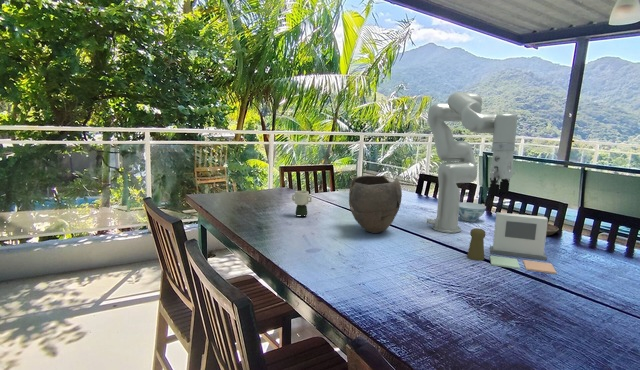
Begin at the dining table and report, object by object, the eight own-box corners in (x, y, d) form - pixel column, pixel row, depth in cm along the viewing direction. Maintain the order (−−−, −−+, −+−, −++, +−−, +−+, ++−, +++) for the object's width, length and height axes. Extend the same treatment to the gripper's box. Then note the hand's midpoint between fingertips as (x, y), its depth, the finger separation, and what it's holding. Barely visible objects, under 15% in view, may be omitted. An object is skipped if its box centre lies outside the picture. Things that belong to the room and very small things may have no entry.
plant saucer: (540, 225, 192) (541, 219, 192) (568, 238, 172) (569, 230, 171) (500, 225, 191) (500, 218, 191) (523, 237, 171) (523, 230, 171)
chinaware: (452, 221, 196) (454, 206, 194) (454, 215, 209) (455, 201, 208) (484, 225, 190) (486, 209, 189) (484, 218, 204) (485, 204, 202)
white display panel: (490, 253, 148) (494, 214, 146) (489, 248, 154) (493, 211, 151) (546, 260, 141) (551, 220, 139) (543, 255, 147) (548, 216, 145)
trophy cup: (313, 216, 199) (314, 191, 197) (308, 219, 193) (309, 193, 191) (294, 213, 203) (295, 189, 201) (288, 216, 197) (289, 191, 194)
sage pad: (491, 265, 135) (491, 263, 135) (489, 257, 144) (490, 255, 143) (519, 269, 132) (519, 267, 132) (516, 260, 140) (516, 259, 140)
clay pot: (404, 229, 179) (408, 176, 175) (391, 243, 157) (395, 182, 153) (356, 222, 189) (358, 172, 185) (337, 234, 167) (339, 178, 163)
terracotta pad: (526, 270, 131) (526, 268, 131) (522, 261, 140) (522, 259, 140) (556, 274, 128) (556, 272, 128) (550, 265, 137) (551, 263, 137)
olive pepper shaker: (486, 261, 139) (488, 231, 137) (468, 259, 140) (471, 230, 138) (482, 255, 145) (485, 227, 143) (465, 254, 146) (468, 226, 144)
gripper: (505, 148, 133) (500, 197, 135) (521, 147, 145) (517, 192, 148) (483, 147, 138) (479, 194, 141) (501, 146, 150) (497, 190, 153)
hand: (498, 193), depth 144 cm, fingers open, 9 cm apart
